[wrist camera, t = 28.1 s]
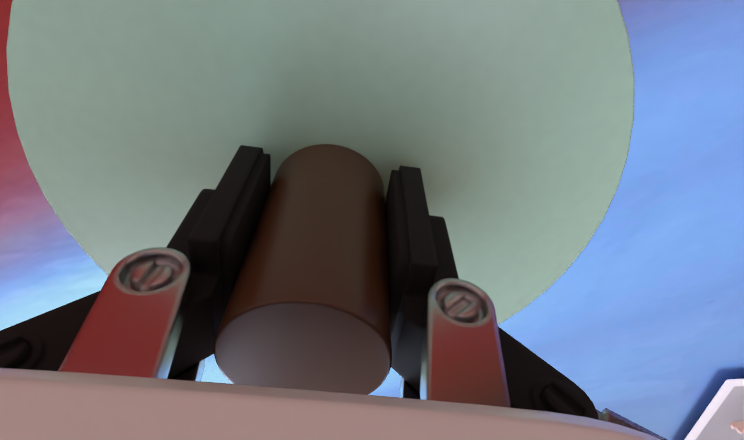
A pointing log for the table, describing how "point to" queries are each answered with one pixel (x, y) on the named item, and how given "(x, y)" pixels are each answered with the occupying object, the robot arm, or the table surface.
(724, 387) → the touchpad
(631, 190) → the table surface
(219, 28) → the pot lid
